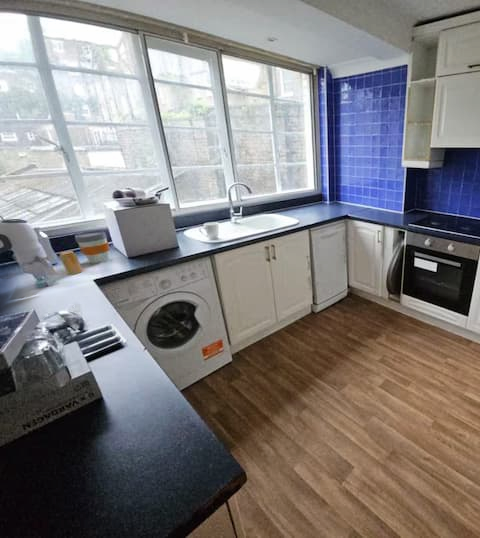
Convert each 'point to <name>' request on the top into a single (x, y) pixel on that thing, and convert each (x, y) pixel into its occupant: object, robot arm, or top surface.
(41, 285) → the jar lid
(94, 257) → the reusable coffee cup
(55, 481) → the top surface
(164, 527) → the top surface
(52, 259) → the plastic bottle
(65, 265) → the jar
